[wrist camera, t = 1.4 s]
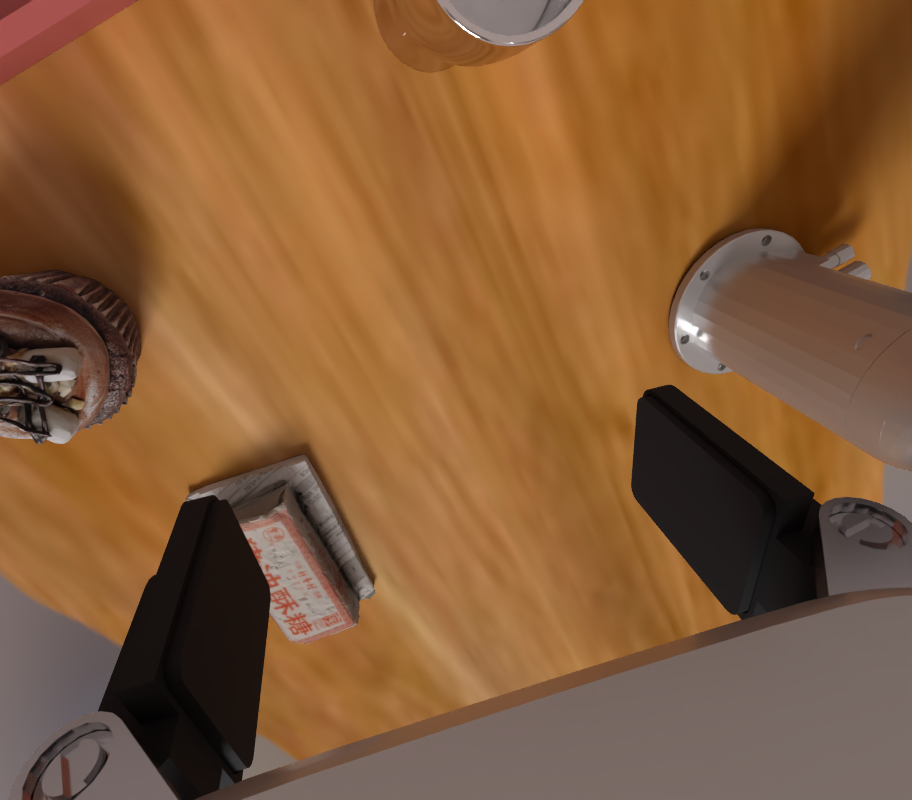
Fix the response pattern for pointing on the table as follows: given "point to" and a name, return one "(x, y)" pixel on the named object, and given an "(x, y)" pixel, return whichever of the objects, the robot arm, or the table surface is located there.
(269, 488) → the packaged product
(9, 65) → the tray
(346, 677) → the table surface
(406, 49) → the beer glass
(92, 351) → the cupcake
